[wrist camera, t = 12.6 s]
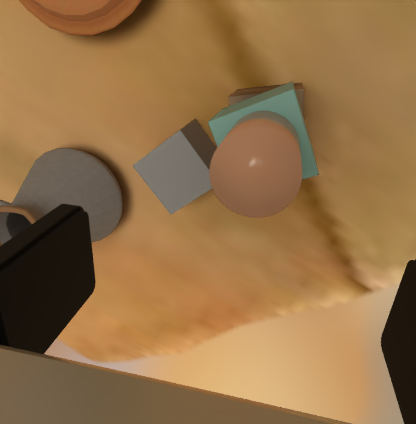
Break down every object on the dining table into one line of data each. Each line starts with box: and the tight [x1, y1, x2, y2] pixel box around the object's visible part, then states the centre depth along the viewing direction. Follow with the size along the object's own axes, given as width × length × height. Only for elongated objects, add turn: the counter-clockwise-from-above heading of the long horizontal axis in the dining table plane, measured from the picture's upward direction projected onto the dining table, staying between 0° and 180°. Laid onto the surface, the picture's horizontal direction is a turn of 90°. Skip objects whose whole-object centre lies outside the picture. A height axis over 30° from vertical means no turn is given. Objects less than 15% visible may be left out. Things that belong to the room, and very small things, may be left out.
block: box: [133, 118, 217, 214], centre depth 36 cm, size 6×6×6 cm
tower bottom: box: [229, 83, 304, 118], centre depth 33 cm, size 6×6×6 cm
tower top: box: [208, 81, 319, 179], centre depth 27 cm, size 6×6×6 cm
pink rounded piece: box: [209, 111, 302, 217], centre depth 22 cm, size 5×5×6 cm
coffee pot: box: [0, 148, 123, 246], centre depth 36 cm, size 21×12×15 cm, turn 58°
